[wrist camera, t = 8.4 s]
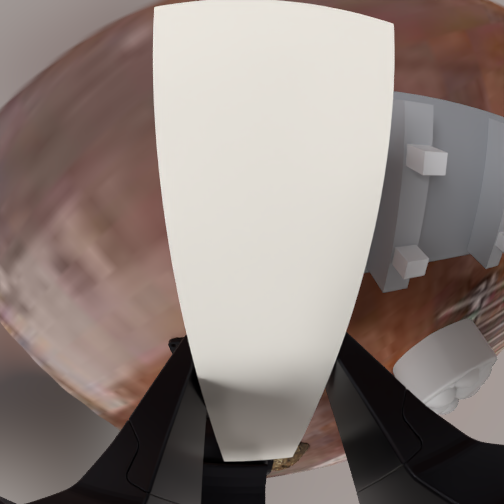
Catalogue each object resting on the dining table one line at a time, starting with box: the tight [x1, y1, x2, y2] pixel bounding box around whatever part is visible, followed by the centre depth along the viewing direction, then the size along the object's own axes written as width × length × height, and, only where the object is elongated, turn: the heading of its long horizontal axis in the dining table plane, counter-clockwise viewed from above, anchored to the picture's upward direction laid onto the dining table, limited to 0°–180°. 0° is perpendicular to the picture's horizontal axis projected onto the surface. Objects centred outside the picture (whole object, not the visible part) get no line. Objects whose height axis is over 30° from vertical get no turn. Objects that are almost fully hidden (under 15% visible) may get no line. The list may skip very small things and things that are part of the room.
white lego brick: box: [393, 319, 497, 415], centre depth 26 cm, size 10×13×9 cm
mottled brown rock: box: [271, 443, 309, 471], centre depth 42 cm, size 13×12×5 cm
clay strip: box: [153, 0, 394, 461], centre depth 8 cm, size 16×3×3 cm, turn 0°
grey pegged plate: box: [364, 91, 504, 293], centre depth 15 cm, size 20×13×6 cm, turn 96°
